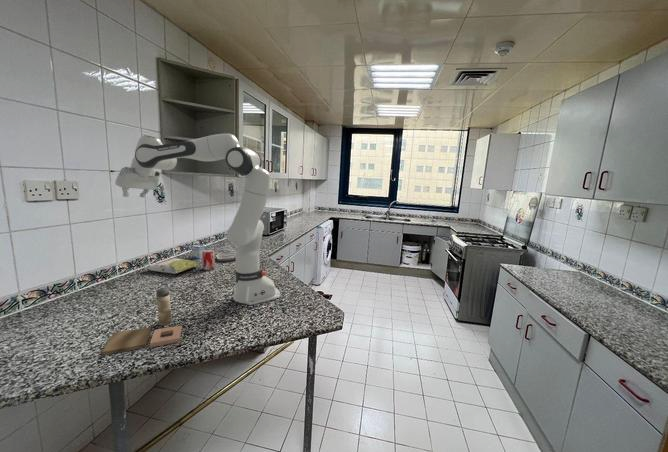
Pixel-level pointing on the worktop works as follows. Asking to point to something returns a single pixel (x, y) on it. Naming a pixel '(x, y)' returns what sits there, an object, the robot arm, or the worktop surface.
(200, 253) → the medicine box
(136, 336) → the walnut board
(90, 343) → the worktop surface
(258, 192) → the robot arm
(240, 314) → the worktop surface
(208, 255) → the soda can
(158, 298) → the beech tool handle
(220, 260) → the brain slice
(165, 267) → the frozen beans
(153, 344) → the frame
